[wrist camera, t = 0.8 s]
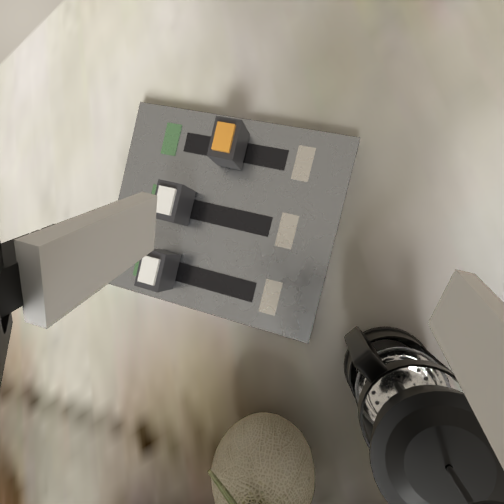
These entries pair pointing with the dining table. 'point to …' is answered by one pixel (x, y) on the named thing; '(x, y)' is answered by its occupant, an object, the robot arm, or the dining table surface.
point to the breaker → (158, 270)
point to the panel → (244, 216)
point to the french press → (418, 425)
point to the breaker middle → (174, 202)
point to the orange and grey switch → (228, 142)
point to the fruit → (263, 463)
